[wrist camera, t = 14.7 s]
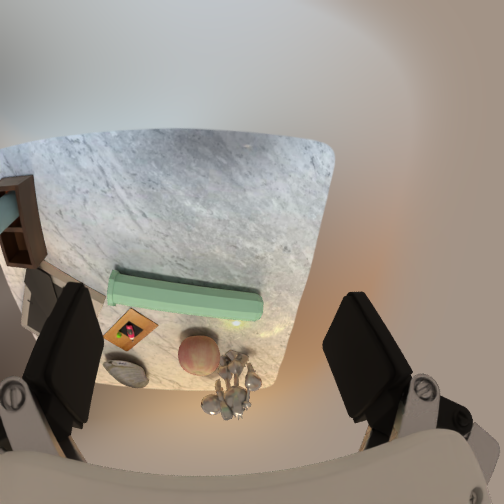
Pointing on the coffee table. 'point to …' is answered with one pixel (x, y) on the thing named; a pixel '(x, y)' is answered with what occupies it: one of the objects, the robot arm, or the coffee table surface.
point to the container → (183, 298)
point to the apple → (199, 355)
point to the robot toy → (235, 395)
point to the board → (130, 330)
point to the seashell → (127, 373)
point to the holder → (23, 226)
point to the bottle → (8, 210)
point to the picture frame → (47, 295)
